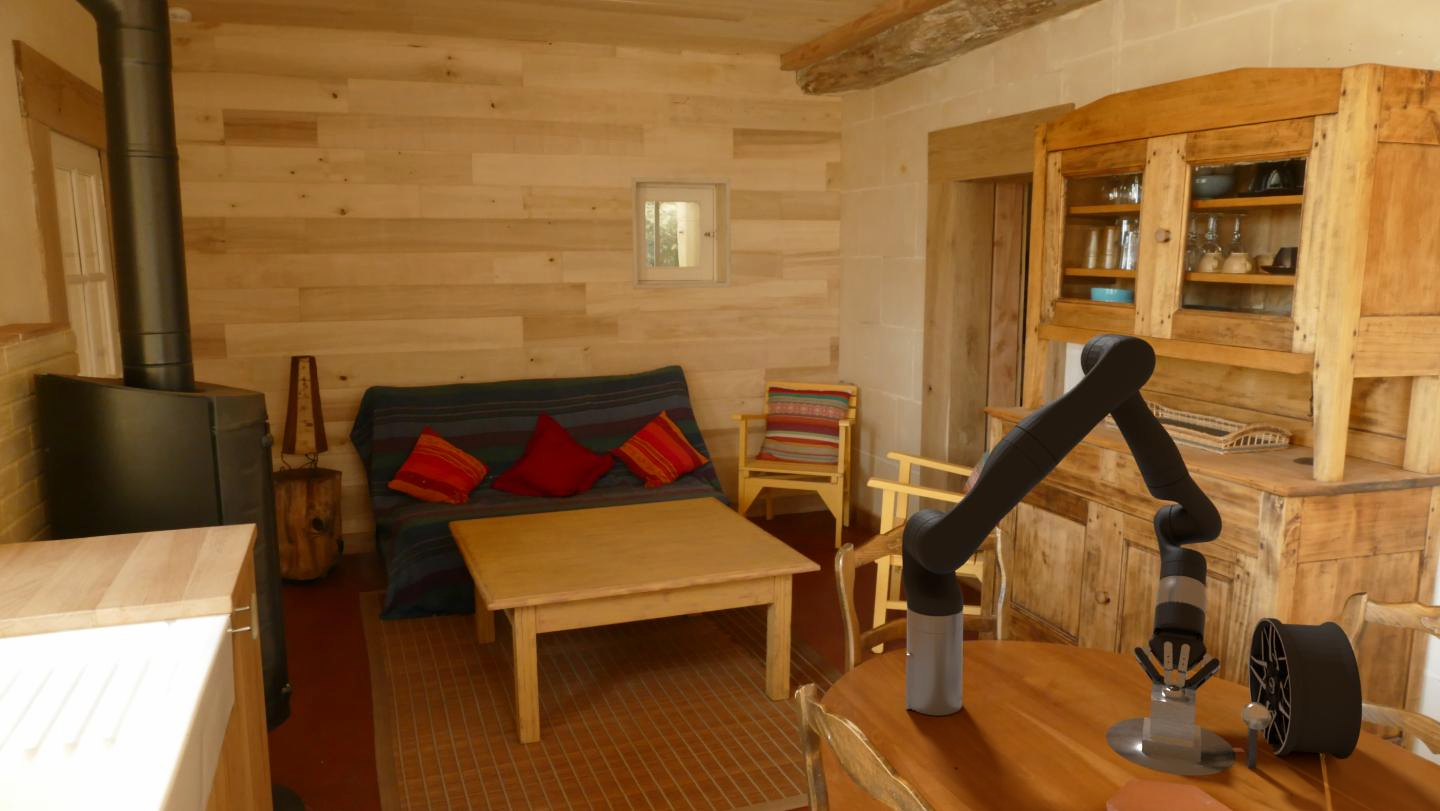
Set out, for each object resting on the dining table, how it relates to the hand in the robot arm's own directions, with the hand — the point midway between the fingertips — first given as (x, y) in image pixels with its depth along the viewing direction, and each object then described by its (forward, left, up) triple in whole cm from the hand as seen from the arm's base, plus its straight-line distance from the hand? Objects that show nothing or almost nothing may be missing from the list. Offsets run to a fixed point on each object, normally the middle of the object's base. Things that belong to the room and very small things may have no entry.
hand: (1172, 712), depth 157 cm
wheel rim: (+18, 0, -5) cm, 19 cm away
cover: (-1, -4, -4) cm, 5 cm away
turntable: (-1, -4, -5) cm, 6 cm away
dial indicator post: (+9, -9, -5) cm, 13 cm away
